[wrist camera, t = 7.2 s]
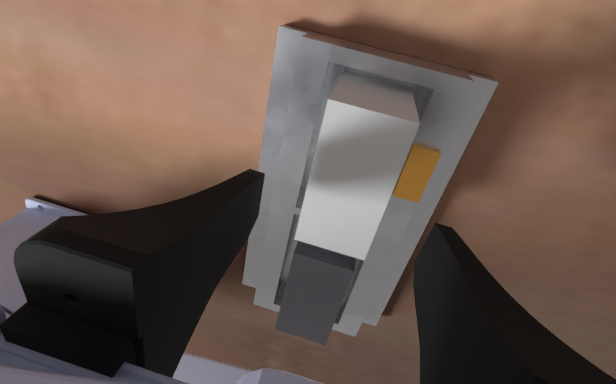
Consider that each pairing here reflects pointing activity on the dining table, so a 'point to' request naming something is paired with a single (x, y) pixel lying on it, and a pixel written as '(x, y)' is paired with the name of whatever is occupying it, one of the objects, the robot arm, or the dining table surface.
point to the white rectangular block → (356, 163)
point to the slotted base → (297, 165)
